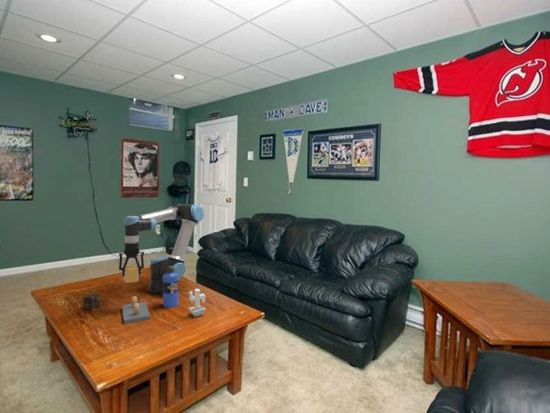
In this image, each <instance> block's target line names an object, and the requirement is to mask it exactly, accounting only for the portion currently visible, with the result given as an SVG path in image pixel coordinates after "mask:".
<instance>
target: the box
mask: <svg viewBox="0 0 550 413" xmlns="http://www.w3.org/2000/svg"><path fill="white" fill-rule="evenodd" d="M82 300H83V301H82V303H83V309H84V308H86V309H85V310H94V309H95V307H96V308H98V307H100V294H97V293H89V294H87V295H85V296H83V297H82ZM97 306H98V307H97ZM93 308H94V309H93Z"/></svg>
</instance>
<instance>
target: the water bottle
mask: <svg viewBox="0 0 550 413" xmlns="http://www.w3.org/2000/svg"><path fill="white" fill-rule="evenodd" d="M167 268H168V269H167V273H166V274H164V275H163V285H164V289H163V293H162V303H163V304H162V306H163V307H164V308H165V309H166V308H168V309H172V308H175V307H176V308H177V307H178V306H179V287H178V284H179V279H178V274H177V273H174V269H173V268H174V267H173V266H172V265H170V266H168V267H167Z"/></svg>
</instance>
